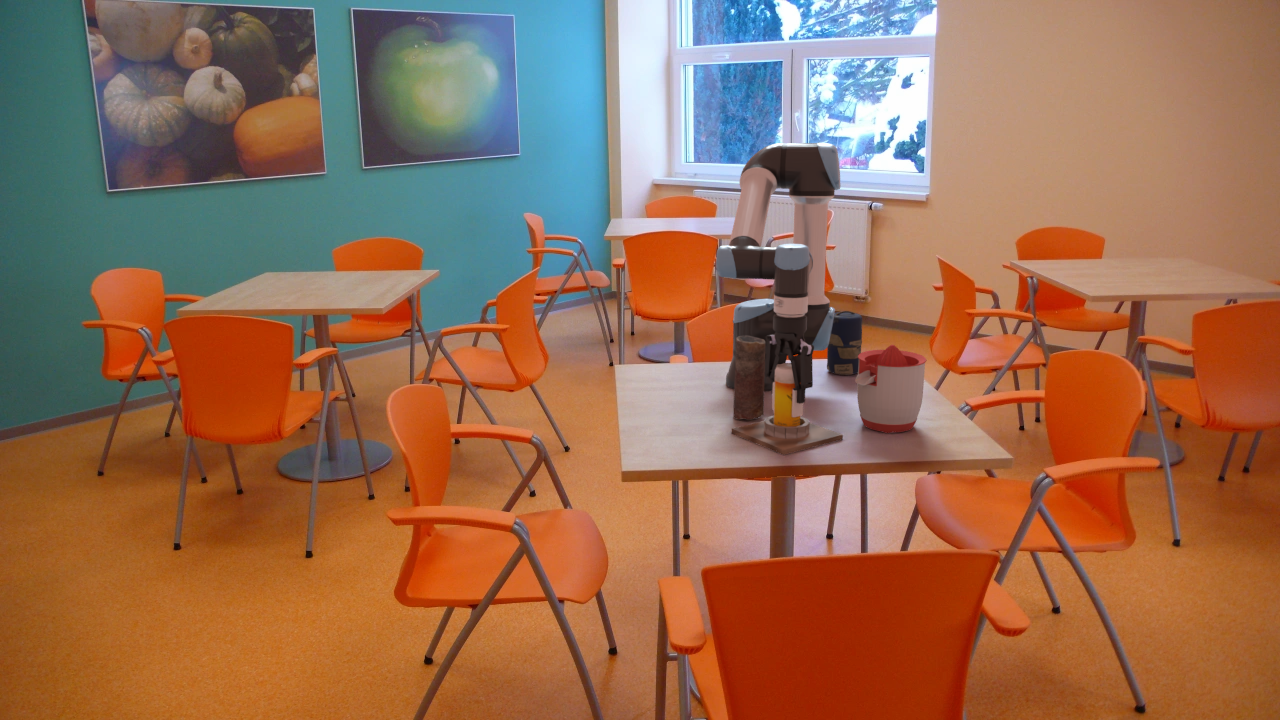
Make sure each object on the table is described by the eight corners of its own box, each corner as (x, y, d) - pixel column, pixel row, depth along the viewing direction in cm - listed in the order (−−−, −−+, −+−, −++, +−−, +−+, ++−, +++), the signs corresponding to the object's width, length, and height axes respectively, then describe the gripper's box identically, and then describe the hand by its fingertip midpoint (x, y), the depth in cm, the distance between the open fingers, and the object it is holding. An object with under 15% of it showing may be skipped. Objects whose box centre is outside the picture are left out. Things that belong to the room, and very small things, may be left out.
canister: (863, 376, 278) (866, 314, 273) (829, 377, 278) (832, 314, 273) (856, 368, 287) (859, 307, 282) (823, 368, 287) (826, 307, 283)
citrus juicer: (835, 423, 237) (838, 342, 232) (889, 412, 246) (894, 334, 241) (880, 442, 224) (885, 356, 219) (936, 429, 232) (942, 347, 227)
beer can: (799, 433, 225) (801, 369, 221) (772, 432, 226) (774, 368, 222) (800, 425, 230) (802, 363, 227) (774, 423, 232) (775, 361, 228)
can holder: (731, 433, 231) (731, 418, 230) (789, 419, 241) (789, 405, 240) (783, 455, 216) (783, 439, 216) (842, 439, 226) (843, 424, 225)
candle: (747, 411, 248) (748, 333, 243) (770, 417, 243) (772, 338, 238) (727, 417, 242) (728, 338, 237) (750, 424, 237) (752, 343, 232)
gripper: (750, 308, 227) (748, 405, 233) (807, 323, 212) (803, 426, 217) (774, 305, 231) (772, 399, 237) (832, 319, 216) (828, 419, 221)
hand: (787, 412), depth 227 cm, fingers closed on beer can, 6 cm apart
